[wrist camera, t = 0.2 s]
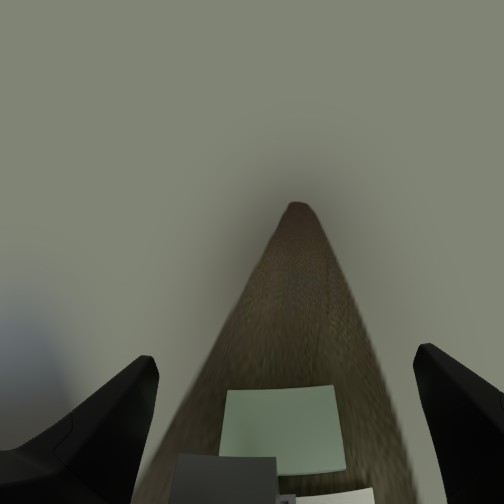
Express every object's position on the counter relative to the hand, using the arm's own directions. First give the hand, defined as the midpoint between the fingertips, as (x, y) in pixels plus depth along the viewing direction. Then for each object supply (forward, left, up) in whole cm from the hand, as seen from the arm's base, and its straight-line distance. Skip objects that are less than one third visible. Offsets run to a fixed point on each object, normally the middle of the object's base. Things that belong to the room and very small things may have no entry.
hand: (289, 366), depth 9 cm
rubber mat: (+7, +1, -16) cm, 18 cm away
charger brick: (-3, +3, -15) cm, 15 cm away
